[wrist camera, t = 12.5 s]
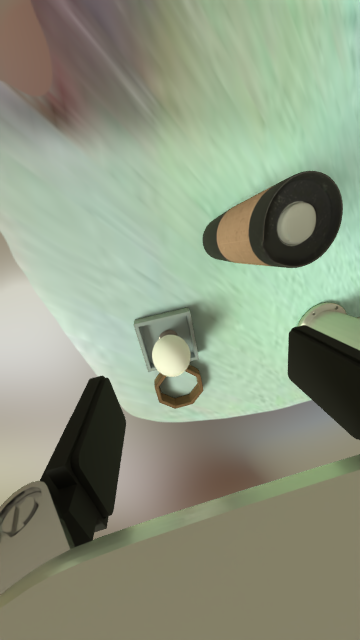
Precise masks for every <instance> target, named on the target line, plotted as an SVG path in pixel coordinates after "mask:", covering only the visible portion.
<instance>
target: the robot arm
mask: <svg viewBox="0 0 360 640" xmlns="http://www.w3.org/2000/svg"><path fill="white" fill-rule="evenodd" d="M288 376H289V378H290V380H291V381H292V382H293V383H294V384H295V385H297V386H298V387H299V388H300V389H301V390H302V391H303V392H304V393H305V394H306V395H308V396H309V397H310V398H311V399H312V400H313V401H314V402H315V403H316V404H317V405H319V406H320V407H321V408H322V409H323V410H324V411H325V412H326V413H327V414H328V415H330V416H331V417H332V418H333V419H334V420H335V421H336V422H337V423H338V424H339V425H340V426H342V427H343V428H344V429H345V430H346V431H347V432H348V433H349V434H350V435H351V436H353V437H354V438H356V439H359V440H360V317H357V318H356V317H353V316H349V315H347V313H346V311H345V309H344V308H343V307H342V306H340V305H338V304H335V303H330V302H328V303H321V304H319V305H316V306H314V307H313V308H311V309H310V310H309V311H308V312H306V314H305V315H304V316H303V317H302V319H301V320H300V322H299V324H298V326H297V327H294V328H292V330H291V331H290V332H289V348H288ZM125 427H126V420H125V416H124V414H123V412H122V409H121V407H120V404H119V402H118V400H117V397H116V395H115V392H114V390H113V388H112V385H111V383H110V380H109V379H108V378H105V377H104V376H99V377H96V378H92V379H90V380H89V381H88V384H87V386H86V388H85V390H84V392H83V394H82V396H81V398H80V400H79V402H78V404H77V406H76V408H75V410H74V412H73V414H72V416H71V418H70V420H69V422H68V424H67V426H66V428H65V430H64V432H63V434H62V436H61V438H60V441H59V443H58V444H57V446H56V448H55V451H54V453H53V455H52V457H51V459H50V461H49V463H48V465H47V467H46V469H45V471H44V473H43V475H42V478H41V479H40V481H36V482H31V483H29V484H27V485H25V486H23V487H22V488H20V489H19V490H17V491H16V492H15V493H13V494H12V495H11V496H10V497H9V498H8V499H7V500H6V501H5V502H4V503H3V504H2V505H1V506H0V640H360V454H359V455H357V456H353V457H350V458H346V459H343V460H340V461H337V462H333V463H330V464H327V465H323V466H320V467H317V468H314V469H310V470H308V471H304V472H301V473H298V474H294V475H291V476H288V477H285V478H281V479H278V480H275V481H272V482H269V483H265V484H262V485H259V486H256V487H253V488H249V489H246V490H243V491H240V492H237V493H233V494H230V495H227V496H224V497H221V498H218V499H215V500H211V501H208V502H206V503H202V504H199V505H196V506H192V507H189V508H186V509H183V510H180V511H177V512H174V513H170V514H167V515H164V516H161V517H158V518H155V519H152V520H149V521H146V522H143V523H140V524H137V525H135V526H132V527H129V528H126V529H123V530H120V531H117V532H114V533H111V534H108V535H105V536H102V537H99V538H97V539H95V540H93V535H94V532H97V531H100V530H103V529H106V528H107V522H108V516H110V515H112V513H113V509H114V504H115V496H116V490H117V482H118V475H119V468H120V462H121V455H122V448H123V441H124V435H125Z"/></svg>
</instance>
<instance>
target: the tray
mask: <svg viewBox="0 0 360 640" xmlns="http://www.w3.org/2000/svg"><path fill="white" fill-rule="evenodd" d="M134 327H135V331H136V334H137V337H138V340H139V343H140V347H141V350H142V353H143V356H144V359H145V363H146V366H147V369H148V372H150V371H154V370H157V369H156V367H155V365H154V363H153V359H152V351H153V347H154V345H155V343H156V342H157V341H158V340H159V336H160V334H161V333H162V332H164V331H166V330H173V331H175V332H176V333H177V335H178V336H179V337H180V338H182V339H183V340H184V341H185V342H186V343H187V345H188V347H189V349H190V355H191V356H190V361H193V360H197V359H199V357H198V351H197V346H196V340H195V335H194V329H193V324H192V319H191V313H190V310H189V309H188V308H183V309H179V310H175V311H171V312H166V313H162V314H158V315H153V316H149V317H145V318H141V319H136V320H135V321H134Z"/></svg>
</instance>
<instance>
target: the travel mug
mask: <svg viewBox="0 0 360 640" xmlns="http://www.w3.org/2000/svg"><path fill="white" fill-rule="evenodd" d="M342 213H343V204H342V197H341V194H340V191H339V189H338V187H337V185H336V184H335V182H334V181H333V180H332V179H331V178H330V177H329V176H327V175H326V174H323V173H321V172H317V171H306V172H301V173H298V174H296V175H293V176H291V177H289V178H287V179H285V180H284V181H282V182H280V183H278V184H276V185H274V186H272V187H270V188H268V189H267V190H265V191H263V192H261V193H259V194H257V195H255V196H253V197H251V198H250V199H248V200H246V201H244V202H242V203H240V204H238V205H236V206H234V207H233V208H231V209H229V210H228V211H226V212H225V213H223V214H222V215H220V216H219V217H217V218H216V219H214V220H213V221H212V222H210V223H209V224H208V226H207V227H206V229H205V231H204V234H203V246H204V249H205V251H206V252H207V253H208V254H209V255H210V256H211V257H213V258H215V259H219V260H224V261H229V262H234V263H243V264H254V265H265V266H276V267H286V268H297V267H302V266H305V265H308V264H310V263H312V262H313V261H315V260H317V259H318V258H319V257H321V256H322V255H323V254H324V253H325V252H326V251H327V249H328V248H329V247H330V245H331V244H332V243H333V241H334V239H335V237H336V235H337V233H338V230H339V228H340V224H341V220H342Z"/></svg>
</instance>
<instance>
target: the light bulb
mask: <svg viewBox="0 0 360 640" xmlns="http://www.w3.org/2000/svg"><path fill="white" fill-rule="evenodd" d="M190 356H191V355H190V349H189V347H188V345H187V343H186V342H185V341H184V340H183V339H182V338H180V337H179V336H178V335H177V333H176V332H175V331H173V330H166V331H164V332H162V333H161V334H160V336H159V340H158V341H157V342H156V343H155V345H154V347H153V351H152V359H153V363H154V365H155V367H156V369H157V370H158V371H159V372H160V373H161V374H163V375H165V376H169V377H175V376H178V375H180V374H182V373H183V372H184V371H185V370H186V369H187V367H188V366H189V363H190Z"/></svg>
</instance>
